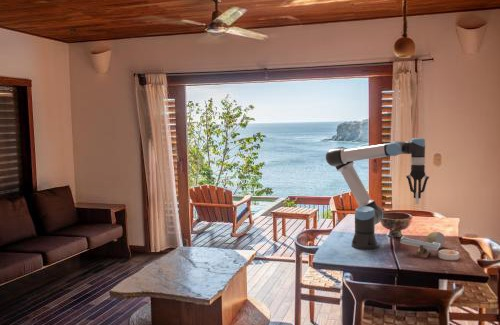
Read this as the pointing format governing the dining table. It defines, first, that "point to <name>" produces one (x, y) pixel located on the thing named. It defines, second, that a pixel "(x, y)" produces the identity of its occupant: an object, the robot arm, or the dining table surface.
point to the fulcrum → (422, 252)
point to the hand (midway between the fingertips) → (417, 203)
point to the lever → (420, 243)
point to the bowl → (448, 255)
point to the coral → (436, 238)
